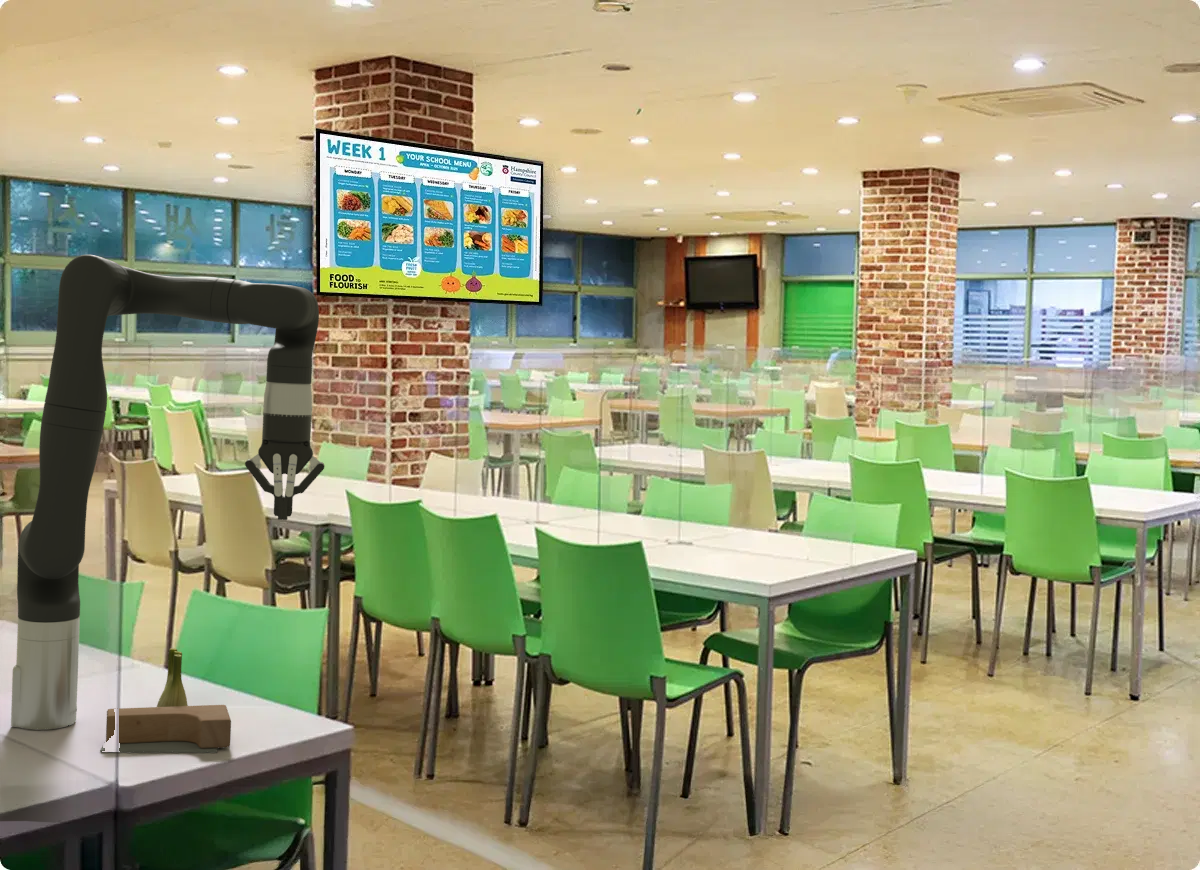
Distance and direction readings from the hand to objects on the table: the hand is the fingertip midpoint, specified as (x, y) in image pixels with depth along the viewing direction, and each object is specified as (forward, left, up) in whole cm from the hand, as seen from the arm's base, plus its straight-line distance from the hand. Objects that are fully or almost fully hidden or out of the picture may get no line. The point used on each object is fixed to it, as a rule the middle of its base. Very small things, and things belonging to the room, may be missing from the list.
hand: (282, 519), depth 216 cm
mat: (-17, -4, -35) cm, 39 cm away
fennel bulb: (-17, +7, -35) cm, 40 cm away
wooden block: (-7, -4, -32) cm, 33 cm away
